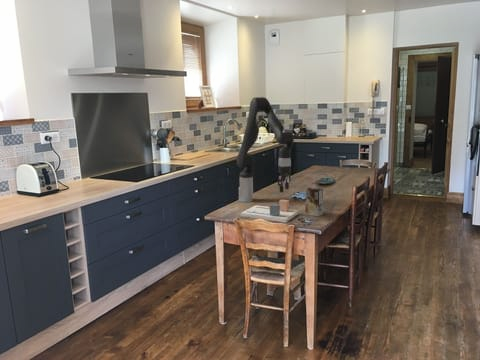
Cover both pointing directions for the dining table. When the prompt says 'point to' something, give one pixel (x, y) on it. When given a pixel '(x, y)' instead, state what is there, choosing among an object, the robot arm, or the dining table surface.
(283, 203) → the block
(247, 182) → the robot arm
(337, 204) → the dining table surface
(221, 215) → the dining table surface
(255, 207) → the console
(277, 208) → the slate fader
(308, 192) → the coffee box
